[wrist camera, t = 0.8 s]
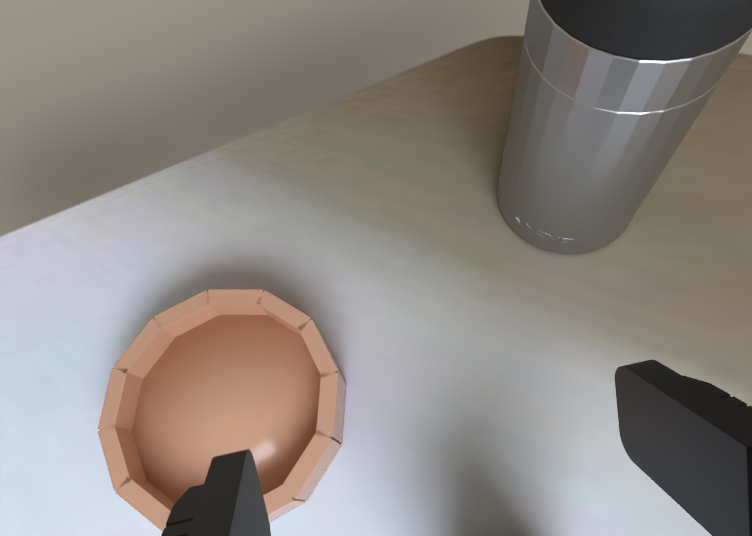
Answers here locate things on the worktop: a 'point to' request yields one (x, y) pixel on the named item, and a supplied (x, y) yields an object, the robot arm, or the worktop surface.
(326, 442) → the bowl
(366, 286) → the worktop surface
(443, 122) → the worktop surface
